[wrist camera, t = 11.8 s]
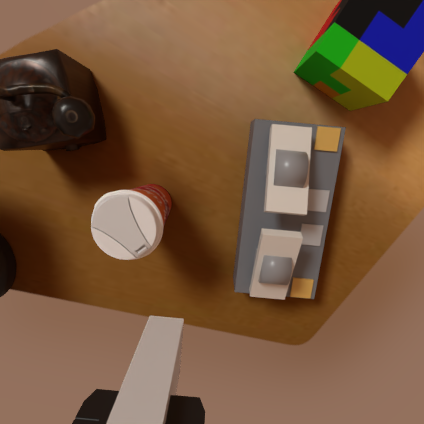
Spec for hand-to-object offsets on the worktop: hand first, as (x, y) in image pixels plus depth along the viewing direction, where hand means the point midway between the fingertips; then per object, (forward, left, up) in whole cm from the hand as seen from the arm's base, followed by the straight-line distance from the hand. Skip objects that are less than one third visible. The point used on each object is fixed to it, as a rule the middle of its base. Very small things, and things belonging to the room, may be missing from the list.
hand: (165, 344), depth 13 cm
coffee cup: (-8, -1, -35) cm, 36 cm away
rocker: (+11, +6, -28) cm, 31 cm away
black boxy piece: (-19, +12, -35) cm, 41 cm away
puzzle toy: (+18, +22, -35) cm, 45 cm away
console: (+12, 0, -34) cm, 36 cm away
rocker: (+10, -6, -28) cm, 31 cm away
